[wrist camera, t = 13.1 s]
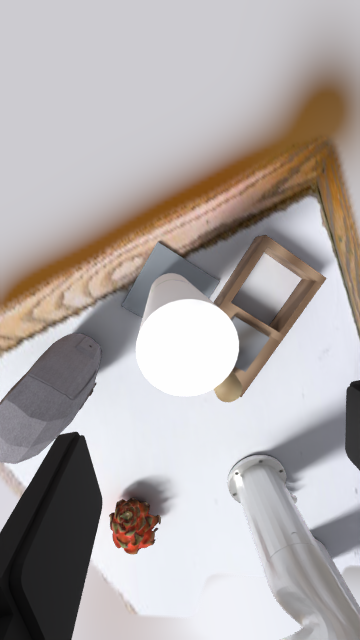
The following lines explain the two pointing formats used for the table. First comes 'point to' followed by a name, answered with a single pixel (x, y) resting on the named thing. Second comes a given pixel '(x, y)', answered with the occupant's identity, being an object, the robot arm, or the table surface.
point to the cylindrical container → (184, 339)
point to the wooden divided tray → (253, 333)
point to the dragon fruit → (133, 525)
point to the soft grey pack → (48, 397)
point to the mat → (159, 265)
